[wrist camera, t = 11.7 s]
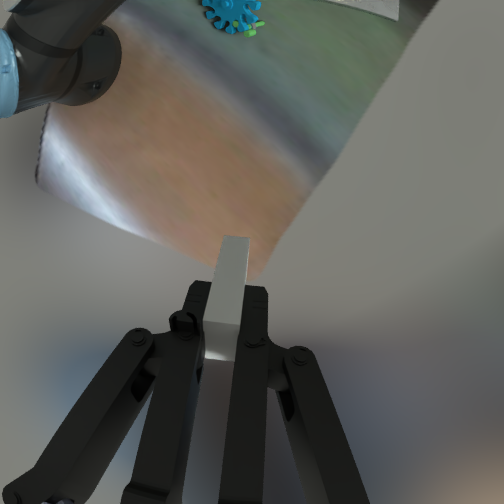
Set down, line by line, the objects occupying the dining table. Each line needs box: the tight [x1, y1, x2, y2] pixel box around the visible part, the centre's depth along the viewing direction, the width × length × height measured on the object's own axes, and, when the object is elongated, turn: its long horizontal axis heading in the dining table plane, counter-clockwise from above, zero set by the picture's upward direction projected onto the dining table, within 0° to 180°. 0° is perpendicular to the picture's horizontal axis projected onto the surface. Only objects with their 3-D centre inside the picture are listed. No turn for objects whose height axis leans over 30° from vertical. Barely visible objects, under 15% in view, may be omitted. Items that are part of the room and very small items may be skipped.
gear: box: [202, 0, 265, 37], centre depth 27 cm, size 11×6×10 cm
